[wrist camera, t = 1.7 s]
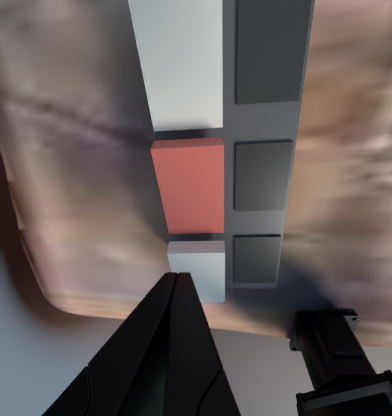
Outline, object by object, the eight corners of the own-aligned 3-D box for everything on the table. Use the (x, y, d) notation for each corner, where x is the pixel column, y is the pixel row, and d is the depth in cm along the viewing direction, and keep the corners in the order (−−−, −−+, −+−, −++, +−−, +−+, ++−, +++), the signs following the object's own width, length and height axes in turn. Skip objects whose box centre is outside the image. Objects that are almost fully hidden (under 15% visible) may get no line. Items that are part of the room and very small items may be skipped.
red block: (223, 222, 16) (223, 232, 15) (170, 223, 16) (168, 233, 15) (223, 136, 12) (223, 145, 11) (154, 140, 12) (150, 149, 11)
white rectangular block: (221, 120, 13) (222, 127, 12) (157, 124, 13) (153, 131, 12) (220, -40, 9) (222, -45, 8) (129, -28, 9) (121, -32, 8)
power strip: (265, 256, 22) (278, 296, 18) (183, 257, 23) (177, 296, 18) (290, -3, 13) (328, -46, 9) (154, 11, 14) (129, -22, 10)
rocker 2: (224, 290, 19) (224, 302, 18) (180, 290, 19) (178, 302, 18) (224, 240, 15) (225, 252, 14) (169, 241, 15) (166, 253, 14)
